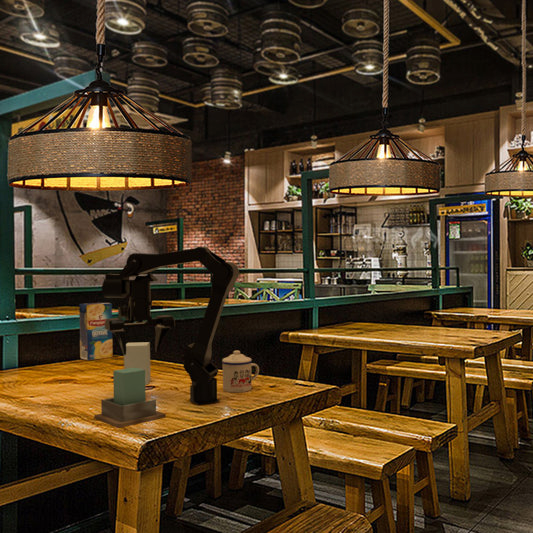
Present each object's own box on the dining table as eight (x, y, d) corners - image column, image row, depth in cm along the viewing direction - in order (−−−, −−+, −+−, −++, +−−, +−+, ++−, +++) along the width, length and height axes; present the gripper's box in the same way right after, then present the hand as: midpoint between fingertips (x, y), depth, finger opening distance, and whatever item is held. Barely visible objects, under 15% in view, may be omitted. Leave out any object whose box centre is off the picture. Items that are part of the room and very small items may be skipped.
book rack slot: (140, 408, 156) (139, 391, 156) (165, 417, 147) (165, 399, 147) (94, 418, 147) (94, 400, 147) (118, 427, 138) (118, 408, 138)
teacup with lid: (230, 394, 172) (230, 354, 171) (217, 388, 179) (216, 350, 179) (266, 389, 178) (265, 350, 178) (251, 384, 185) (251, 346, 185)
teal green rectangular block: (135, 410, 151) (134, 367, 151) (145, 414, 147) (145, 369, 147) (114, 414, 147) (113, 370, 147) (124, 418, 143) (123, 373, 143)
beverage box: (112, 356, 242) (112, 303, 242) (87, 360, 235) (86, 304, 235) (104, 355, 247) (103, 302, 247) (79, 358, 240) (79, 304, 240)
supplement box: (151, 380, 193) (150, 341, 193) (147, 385, 186) (146, 345, 186) (128, 380, 193) (127, 342, 193) (123, 385, 186) (123, 345, 185)
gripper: (162, 295, 178) (162, 347, 178) (99, 297, 168) (100, 352, 169) (175, 297, 168) (176, 351, 168) (109, 299, 159) (110, 357, 159)
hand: (140, 353), depth 166 cm, fingers open, 9 cm apart
